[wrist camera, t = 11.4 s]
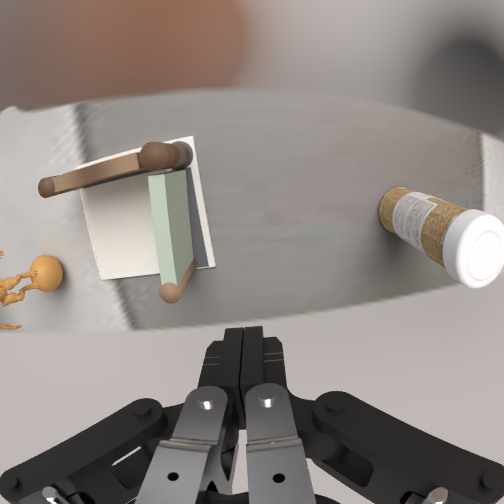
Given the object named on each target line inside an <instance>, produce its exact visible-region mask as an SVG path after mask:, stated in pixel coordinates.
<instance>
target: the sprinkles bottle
mask: <svg viewBox="0 0 504 504" xmlns="http://www.w3.org/2000/svg"><path fill="white" fill-rule="evenodd" d="M379 217H380V220H381V222H382V224H383V226H384V227H385V228H386V229H387V230H388V231H390V232H392V233H395V234H397V235H398V236H399V237H400V238H401V239H403V240H404V241H406V242H407V243H409V244H410V245H411V246H413V247H414V248H416V249H417V250H419V251H420V252H422V253H423V254H424V255H426V256H427V257H428V258H430V259H432V260H434V261H436V262H437V263H439V264H440V265H441V266H443V267H444V268H445V269H446V270H447V272H448V273H449V275H450V276H451V277H453V278H454V279H455V280H457V281H458V282H459V283H461V284H462V285H464V286H465V287H468V288H470V289H479V288H483V287H485V286H487V285H488V284H489V283H491V282H492V281H493V280H494V279H495V278H496V277H497V275H498V274H499V272H500V271H501V269H502V267H503V265H504V226H503V224H502V223H501V221H500V220H499V219H497V218H496V217H494V216H492V215H490V214H488V213H485V212H482V211H479V210H475V209H473V210H470V209H465V208H463V207H460V206H457V205H454V204H452V203H448V202H446V201H443V200H440V199H438V198H436V197H433V196H430V195H427V194H423V193H420V192H414V191H411V190H410V189H407V188H404V187H397V188H394V189H392V190H390V191H388V192H387V193H386V194H385V195H384V197H383V199H382V200H381V203H380V206H379Z"/></svg>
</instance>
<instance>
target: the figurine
mask: <svg viewBox="0 0 504 504" xmlns="http://www.w3.org/2000/svg"><path fill="white" fill-rule="evenodd" d="M1 253H3V252H2V251H0V256H2V255H4V254H1ZM0 259H1V258H0ZM62 276H63V272H62V267H61V265H60V263H59V262H58V260H57V259H56V258H54V257H52V256H50V255H42V256H40V257H38V258H37V259H35V260H34V262H33V263H32V265H31V269H30V272H27V273H24V274H21V275H17V276H16V277H15V278H13V277H12V278H7V279H5V280H0V302H1V301H2V305H3V306H7V305H9V304H10V303H15V302H18V301H22V300H23V299H24V296H25V291H26V290H30V289H34V288H35V289H39V290H41V291H45V292H49V291H52V290H54V289H56V288H57V287H58V286H59V284H60V283H61V280H62ZM26 277H31V280H32V283H33V284H30V285H28V286H25V287H23V288H22V289H20V290H19V294H16V293H10V294H8V295H7V291H6V290H11V289H13V288H14V286H15V285H17V284H18V283H19V282H20V281H21V278H26ZM20 327H22V325H20V326H18V325H17V326H15V327H13V326H10V325H6V324H0V328H4V329H17V328H20Z"/></svg>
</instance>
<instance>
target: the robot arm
mask: <svg viewBox="0 0 504 504" xmlns="http://www.w3.org/2000/svg"><path fill="white" fill-rule="evenodd" d="M246 428H247V445H246V457H247V473H248V489H249V492H244V493H240V494H235V495H232V483H233V477H234V472H235V465H236V459H237V453H238V448H239V444H238V438H239V430H244V429H246ZM139 446H140V447H141V449H139V450H138V451H136V452H135V453H133V454H131V455H130V456H128V457H127V458H125V459H124V460H122V461H120V462H119V463H117V464H116V465H113V466H112V464H113V463H114V462H115V461H117V460H119V459H120V458H122V457H123V456H125V455H127V454H128V453H129V452H131V451H133V450H134V449H136V448H137V447H139ZM306 458H311V459H312V461H313V462H314V463H315V464H316V465H317V466H318V467H320V468H321V469H323V470H324V471H326V472H327V473H328V474H330V475H331V476H333V477H334V478H336V479H337V480H338V481H340V482H342V483H343V484H345V485H346V486H348V487H349V488H351V489H352V490H354V491H355V492H357V493H358V494H360V495H362V496H363V497H365V498H366V499H368V500H370V501H371V502H373V503H375V504H495V503H497V502H498V501H499V500H500V499H501V498H502V497H503V496H504V466H503V465H501V464H499V463H497V462H494V461H492V460H489V459H486V458H484V457H481V456H479V455H476V454H474V453H471V452H469V451H467V450H464V449H461V448H459V447H457V446H455V445H452V444H450V443H448V442H446V441H443V440H441V439H439V438H437V437H434V436H432V435H430V434H428V433H425V432H423V431H421V430H419V429H417V428H415V427H413V426H411V425H409V424H407V423H405V422H403V421H401V420H398V419H396V418H395V417H393V416H391V415H389V414H387V413H385V412H383V411H381V410H379V409H377V408H375V407H373V406H371V405H369V404H367V403H365V402H363V401H362V400H360V399H358V398H356V397H354V396H352V395H351V394H348V393H346V392H342V391H331V392H327V393H324V394H322V395H321V396H319V397H318V398H317V399H316V400H315V401H313V400H305V399H301V398H298V397H296V396H294V395H293V394H291V392H290V391H289V390H288V388H287V383H286V375H285V365H284V357H283V348H282V343H281V342H280V341H279V340H278V338H277V337H268V338H264V337H263V327H262V326H255V327H245V328H243V327H242V328H226V329H225V334H224V340H223V341H213V343H211V345H210V346H209V347H208V348H207V351H206V354H205V359H204V362H203V366H202V370H201V374H200V379H199V383H198V387H197V389H195V390H193V391H192V392H191V393H190V394H189V395H188V396H187V398H186V400H185V402H184V403H182V404H179V405H175V406H170V407H165V408H163V407H162V405H161V404H160V403H159V402H158V401H156V400H154V399H149V398H144V399H138V400H136V401H134V402H132V403H130V404H128V405H127V406H125V407H124V408H122V409H120V410H118V411H117V412H115V413H113V414H112V415H110V416H108V417H107V418H105V419H103V420H101V421H100V422H98V423H96V424H94V425H93V426H91V427H89V428H88V429H86V430H84V431H82V432H80V433H78V434H77V435H75V436H73V437H71V438H69V439H67V440H66V441H64V442H62V443H60V444H58V445H57V446H54V447H53V448H51V449H49V450H47V451H45V452H43V453H41V454H39V455H37V456H35V457H33V458H31V459H29V460H27V461H25V462H23V463H21V464H19V465H17V466H15V467H13V468H11V469H9V470H7V471H5V472H4V473H3V474H2V475H1V477H0V494H1V495H2V497H3V498H5V499H6V500H7V501H8V502H9V503H10V504H126V503H127V502H129V501H130V500H132V499H134V498H135V497H137V498H136V499H134V500H132V501H130V502H129V503H127V504H340V503H338V502H337V501H335V500H332V499H330V498H327V497H325V496H321V495H317V494H314V492H313V487H312V483H311V479H310V474H309V470H308V465H307V461H306Z"/></svg>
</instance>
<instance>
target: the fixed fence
mask: <svg viewBox="0 0 504 504" xmlns="http://www.w3.org/2000/svg"><path fill="white" fill-rule="evenodd" d="M189 158H190V152H189V150H188V148H187V147H186V146H184V145H180V144H171V143H162V142H149V143H147V144H145V145H144V146H143V147H142V149H141V151H140V152H135V153H131V154H128V155H124V156H120V157H117V158H113V159H110V160H106V161H103V162H99V163H96V164H93V165H90V166H87V167H83V168H80V169H77V170H74V171H71V172H68V173H65V174H62V175H58V176H53V177H48V178H43V179H41V181H40V182H39V185H38V191H39V194H40V195H41V196H42V197H43V198H47V197H51V196H55V195H58V194H62V193H65V192H69V191H73V190H77V189H81V188H85V187H88V186H90V185H91V184H92V183H95V182H99V181H102V180H106V179H110V178H114V177H118V176H121V175H125V174H129V173H133V172H138V171H142V170H148V171H158V170H164V169H170V168H176V167H181V166H184V165H185V164H186V163H187V162H188V161H189Z"/></svg>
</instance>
